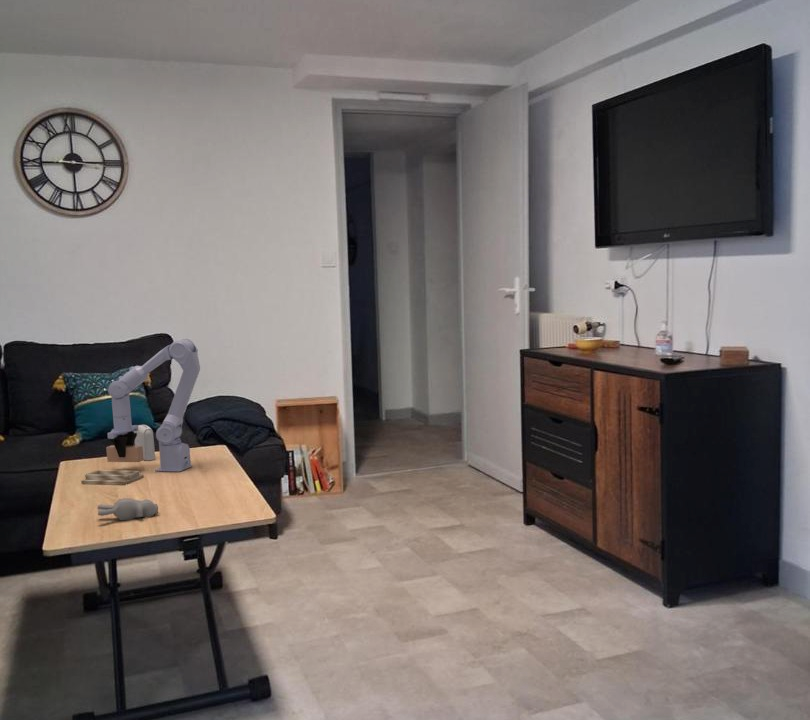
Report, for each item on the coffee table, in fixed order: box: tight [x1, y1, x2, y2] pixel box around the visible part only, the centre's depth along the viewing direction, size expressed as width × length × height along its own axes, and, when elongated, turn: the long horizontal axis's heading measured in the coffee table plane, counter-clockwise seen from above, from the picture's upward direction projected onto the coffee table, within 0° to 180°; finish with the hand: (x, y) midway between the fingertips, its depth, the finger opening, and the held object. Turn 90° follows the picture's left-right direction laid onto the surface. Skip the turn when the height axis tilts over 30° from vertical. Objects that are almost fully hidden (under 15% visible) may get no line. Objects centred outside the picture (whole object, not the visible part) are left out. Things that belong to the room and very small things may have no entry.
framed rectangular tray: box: [80, 469, 144, 486], centre depth 261 cm, size 16×10×2 cm, turn 75°
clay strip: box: [105, 444, 145, 463], centre depth 274 cm, size 12×3×5 cm, turn 74°
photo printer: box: [133, 424, 156, 461], centre depth 294 cm, size 10×4×12 cm, turn 39°
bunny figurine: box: [97, 497, 159, 521], centre depth 216 cm, size 10×5×15 cm
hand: (125, 455), depth 274 cm, fingers closed on clay strip, 3 cm apart
